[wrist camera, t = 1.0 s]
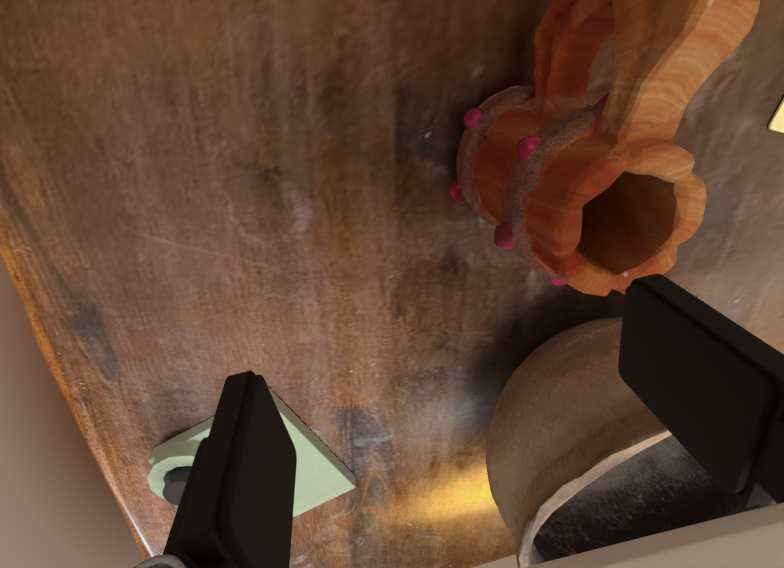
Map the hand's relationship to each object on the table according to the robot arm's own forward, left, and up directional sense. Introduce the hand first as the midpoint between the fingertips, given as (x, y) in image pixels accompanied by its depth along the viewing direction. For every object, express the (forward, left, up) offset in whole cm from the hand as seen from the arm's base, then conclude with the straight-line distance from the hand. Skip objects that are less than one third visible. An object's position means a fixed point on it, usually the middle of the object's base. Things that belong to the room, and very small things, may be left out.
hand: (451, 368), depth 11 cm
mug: (+1, +10, -20) cm, 22 cm away
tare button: (+13, -26, -17) cm, 34 cm away
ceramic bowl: (+26, +7, -20) cm, 33 cm away
